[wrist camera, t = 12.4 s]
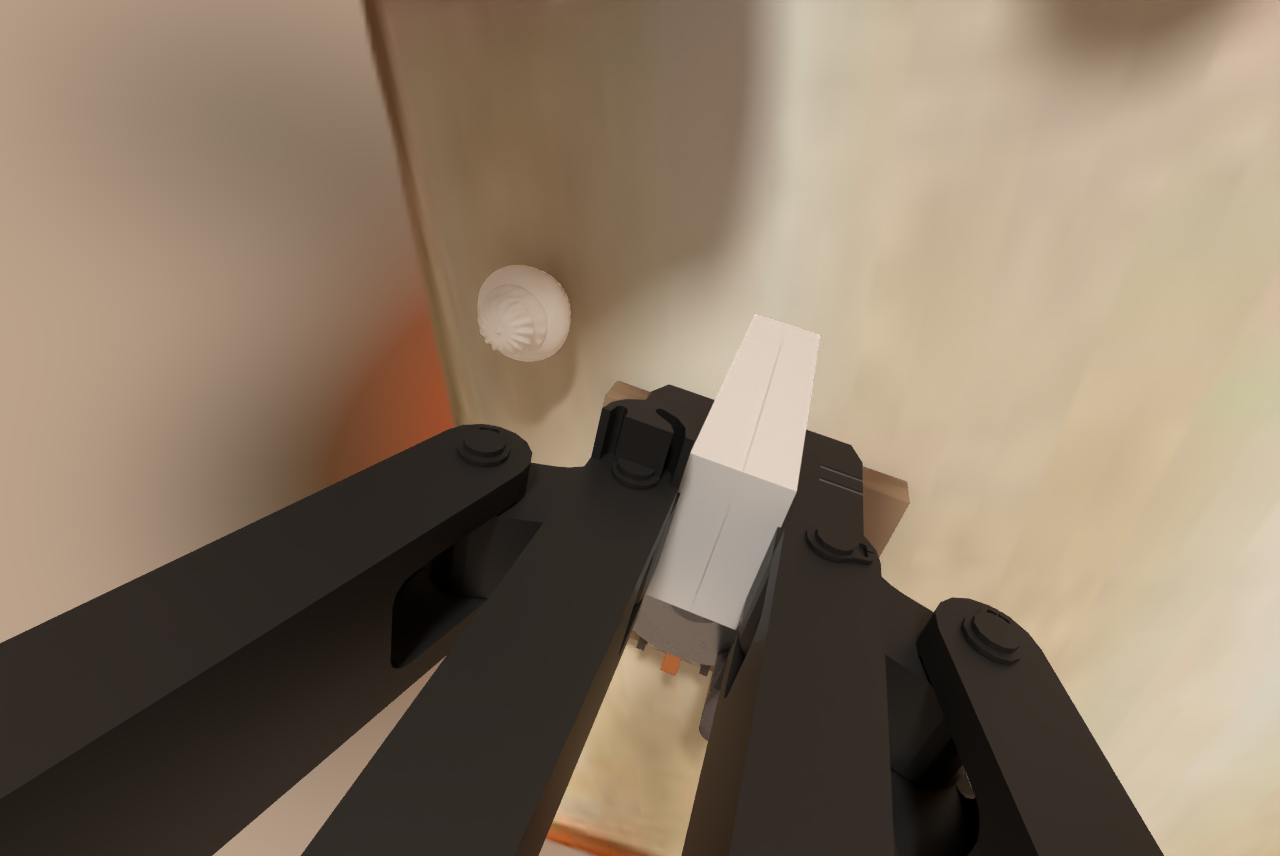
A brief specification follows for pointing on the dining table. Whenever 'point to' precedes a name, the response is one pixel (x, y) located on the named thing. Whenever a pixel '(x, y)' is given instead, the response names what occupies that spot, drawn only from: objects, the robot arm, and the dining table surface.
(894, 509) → the stand
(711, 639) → the capstan
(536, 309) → the muffin
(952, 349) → the dining table surface
